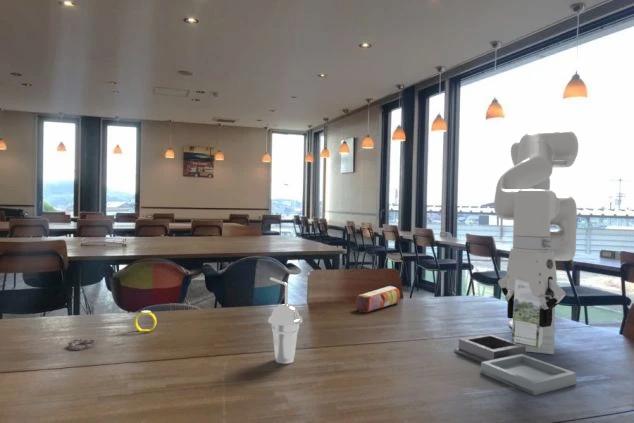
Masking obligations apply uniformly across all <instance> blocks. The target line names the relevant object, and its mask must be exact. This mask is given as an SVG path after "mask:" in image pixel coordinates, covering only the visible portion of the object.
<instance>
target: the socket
mask: <svg viewBox="0 0 634 423" xmlns="http://www.w3.org/2000/svg"><path fill="white" fill-rule="evenodd" d="M453 352H454V353H456V354H458V355H461V356H463V357H466V358H469V359H471V360H474V361H477V362H479V363H481V362H484V361H489V360H494V359H499V358H504V357H509V356H513V355H518V354H524V355H526V346H525V345H521V344H516V343H512V340H509V339H506V338H503V337H500V336H497V335H494V334H491V333H488V334H487V333H486V334H482V335H475V336H469V337H462V338H458V347H456V348H454V351H453ZM526 356H527V355H526Z"/></svg>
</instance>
